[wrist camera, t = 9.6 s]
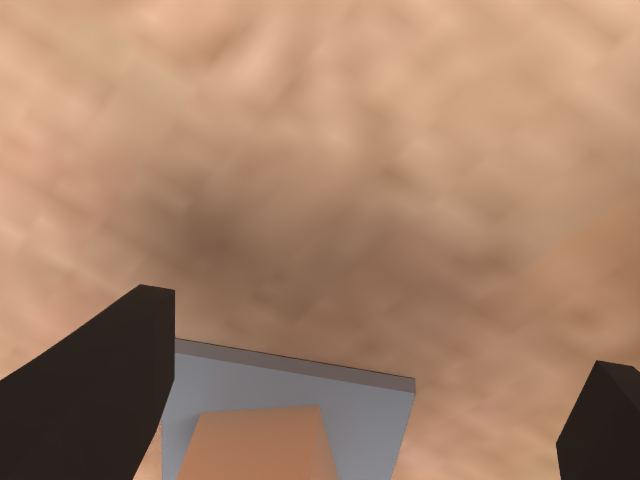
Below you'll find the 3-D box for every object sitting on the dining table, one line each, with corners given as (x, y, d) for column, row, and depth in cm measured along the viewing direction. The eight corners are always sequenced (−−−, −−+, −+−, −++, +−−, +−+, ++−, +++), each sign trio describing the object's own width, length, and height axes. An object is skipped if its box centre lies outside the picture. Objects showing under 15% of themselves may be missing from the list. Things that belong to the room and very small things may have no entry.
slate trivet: (414, 379, 23) (415, 393, 22) (371, 531, 28) (371, 546, 27) (167, 337, 23) (160, 350, 23) (168, 495, 28) (162, 510, 28)
